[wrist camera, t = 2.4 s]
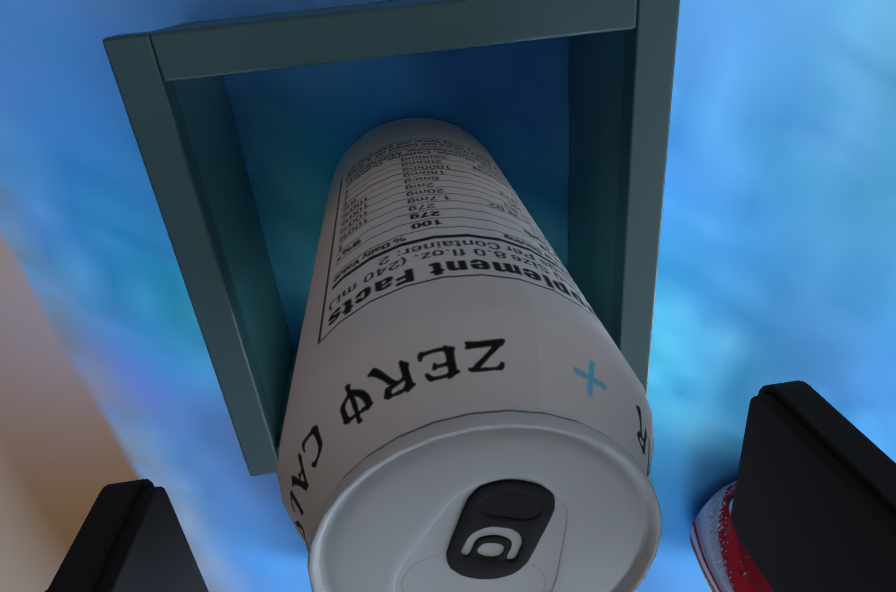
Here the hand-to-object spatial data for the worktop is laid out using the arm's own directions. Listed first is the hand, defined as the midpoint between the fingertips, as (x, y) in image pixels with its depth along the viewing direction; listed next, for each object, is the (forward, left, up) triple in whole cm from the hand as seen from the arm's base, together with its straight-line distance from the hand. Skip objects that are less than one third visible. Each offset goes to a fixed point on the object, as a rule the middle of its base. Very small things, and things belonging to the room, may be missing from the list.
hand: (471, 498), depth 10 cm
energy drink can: (0, 0, -14) cm, 14 cm away
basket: (0, 0, -14) cm, 14 cm away
